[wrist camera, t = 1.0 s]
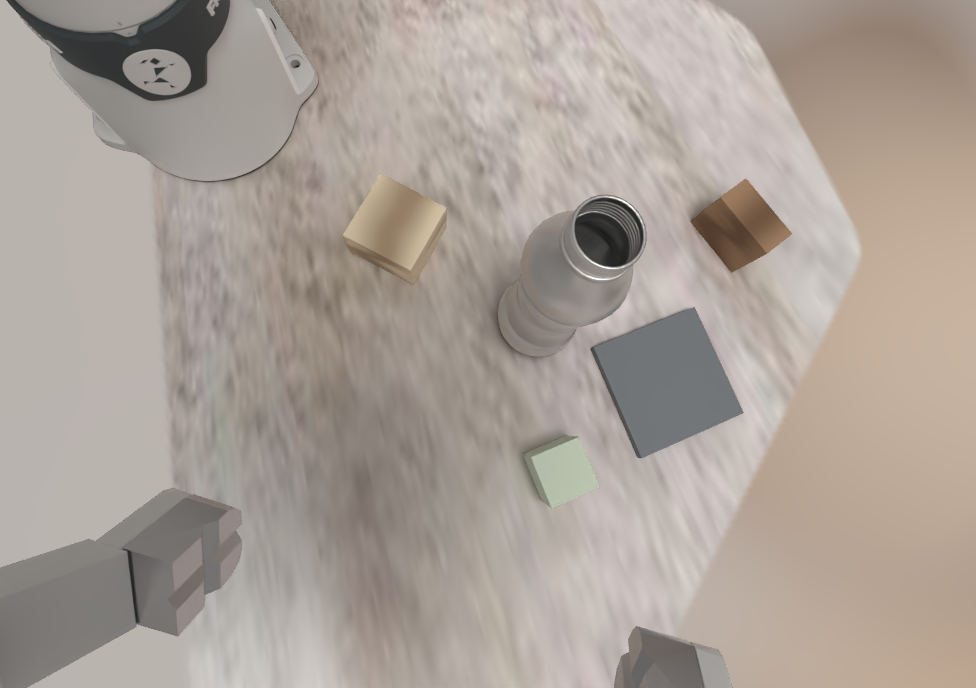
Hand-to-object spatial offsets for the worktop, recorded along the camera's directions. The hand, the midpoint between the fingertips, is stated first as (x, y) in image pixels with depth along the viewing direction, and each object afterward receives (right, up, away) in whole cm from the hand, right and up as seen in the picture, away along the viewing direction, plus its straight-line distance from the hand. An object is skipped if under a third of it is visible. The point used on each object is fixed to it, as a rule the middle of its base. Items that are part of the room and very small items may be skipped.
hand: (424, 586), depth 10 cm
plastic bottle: (+5, +7, +32) cm, 33 cm away
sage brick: (+7, -5, +30) cm, 31 cm away
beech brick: (-6, +14, +32) cm, 36 cm away
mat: (+17, +2, +32) cm, 36 cm away
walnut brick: (+23, +15, +35) cm, 45 cm away
